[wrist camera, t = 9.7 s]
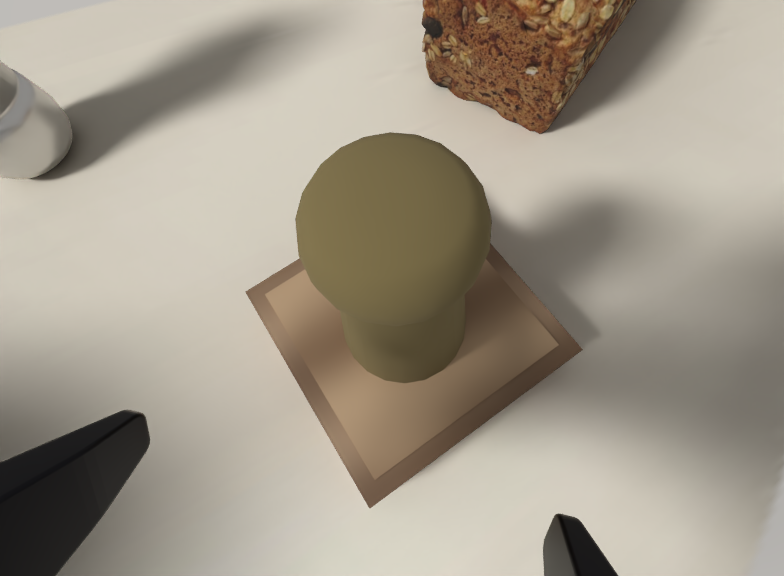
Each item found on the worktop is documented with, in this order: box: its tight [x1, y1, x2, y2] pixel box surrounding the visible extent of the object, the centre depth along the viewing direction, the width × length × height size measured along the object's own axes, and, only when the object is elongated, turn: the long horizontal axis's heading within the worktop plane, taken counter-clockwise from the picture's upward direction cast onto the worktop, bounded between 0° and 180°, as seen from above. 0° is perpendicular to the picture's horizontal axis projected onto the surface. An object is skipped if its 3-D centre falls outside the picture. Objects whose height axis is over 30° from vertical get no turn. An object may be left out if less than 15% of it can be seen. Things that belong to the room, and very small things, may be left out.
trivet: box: [246, 244, 583, 508], centre depth 21 cm, size 12×12×3 cm
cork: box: [296, 133, 492, 383], centre depth 14 cm, size 6×6×11 cm
